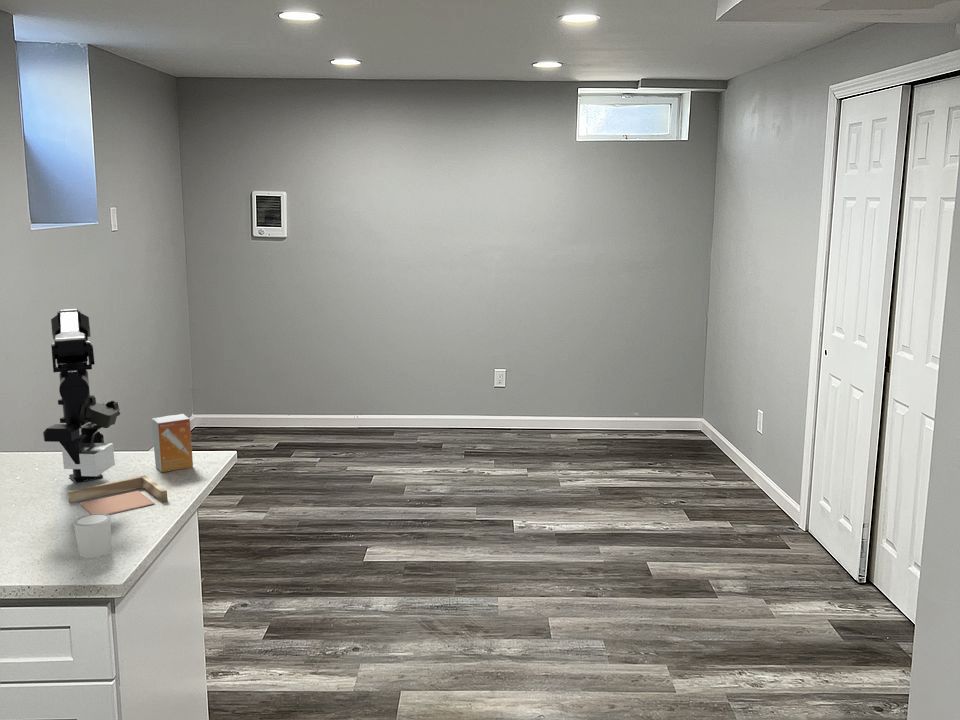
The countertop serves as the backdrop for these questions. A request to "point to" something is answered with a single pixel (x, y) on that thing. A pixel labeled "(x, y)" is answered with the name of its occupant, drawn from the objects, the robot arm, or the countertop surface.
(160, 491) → the tan corner rail
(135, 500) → the pad
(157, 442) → the small box
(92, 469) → the bracket
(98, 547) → the shot glass
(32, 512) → the countertop surface
